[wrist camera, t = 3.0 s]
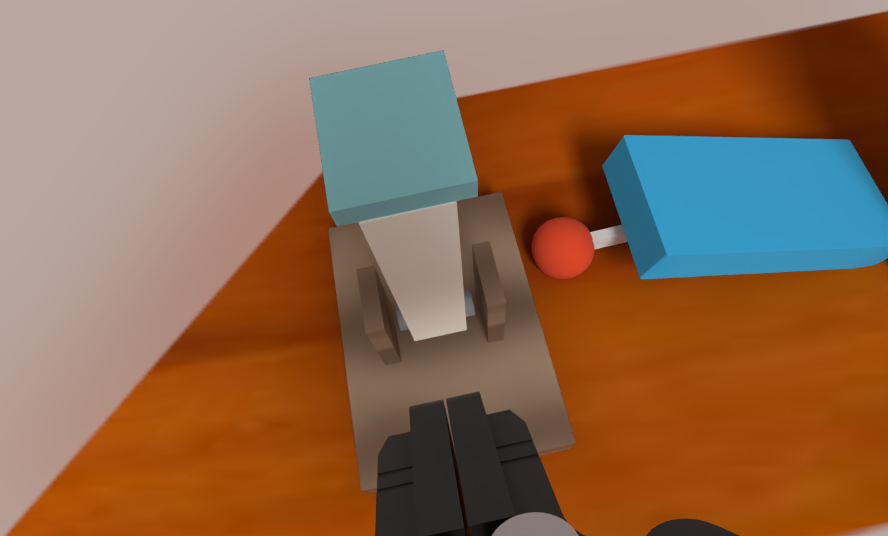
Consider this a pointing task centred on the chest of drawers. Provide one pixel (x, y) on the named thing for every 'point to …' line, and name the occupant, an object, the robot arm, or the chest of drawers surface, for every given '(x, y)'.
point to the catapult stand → (446, 340)
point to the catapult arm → (401, 180)
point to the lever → (729, 209)
